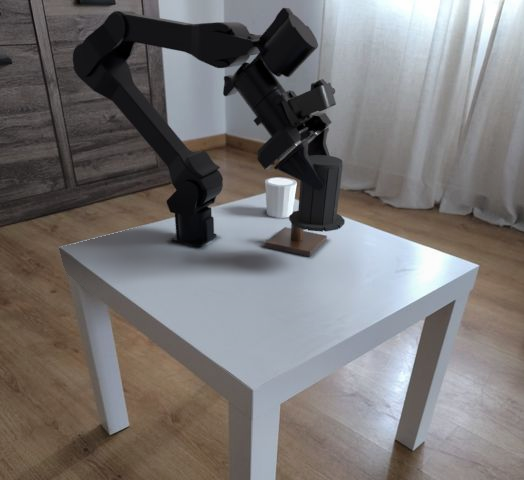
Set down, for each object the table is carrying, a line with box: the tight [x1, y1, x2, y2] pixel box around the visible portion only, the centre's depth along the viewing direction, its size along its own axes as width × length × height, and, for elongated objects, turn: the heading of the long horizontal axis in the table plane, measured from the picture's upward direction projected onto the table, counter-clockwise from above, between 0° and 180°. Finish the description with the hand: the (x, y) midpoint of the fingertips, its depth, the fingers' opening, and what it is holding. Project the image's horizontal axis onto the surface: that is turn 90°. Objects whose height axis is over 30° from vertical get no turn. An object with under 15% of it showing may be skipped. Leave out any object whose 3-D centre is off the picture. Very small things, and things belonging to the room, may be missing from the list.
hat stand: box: [264, 210, 328, 258], centre depth 92 cm, size 9×9×6 cm
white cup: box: [264, 176, 298, 219], centre depth 106 cm, size 7×7×7 cm
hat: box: [288, 155, 346, 233], centre depth 80 cm, size 9×9×10 cm
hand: (328, 183), depth 78 cm, fingers closed on hat, 6 cm apart
